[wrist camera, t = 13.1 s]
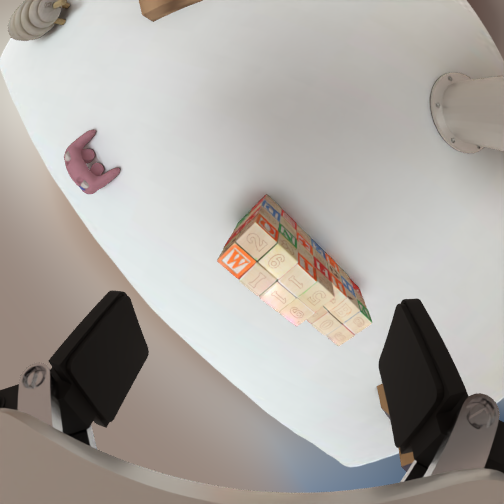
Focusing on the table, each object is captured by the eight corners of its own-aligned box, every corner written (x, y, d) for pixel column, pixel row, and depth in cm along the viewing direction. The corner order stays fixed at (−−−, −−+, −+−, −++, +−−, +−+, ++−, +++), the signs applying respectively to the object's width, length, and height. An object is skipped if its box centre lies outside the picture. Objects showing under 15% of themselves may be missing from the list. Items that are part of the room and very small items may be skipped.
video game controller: (88, 140, 38) (56, 157, 34) (95, 125, 35) (59, 142, 30) (115, 182, 41) (83, 203, 37) (124, 170, 38) (88, 192, 33)
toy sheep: (36, 15, 24) (1, 11, 14) (90, -16, 22) (54, -31, 12) (28, 54, 29) (-9, 53, 19) (81, 25, 27) (39, 15, 17)
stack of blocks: (360, 287, 42) (378, 338, 31) (331, 309, 44) (339, 363, 33) (265, 192, 37) (254, 221, 26) (236, 222, 40) (215, 261, 29)
